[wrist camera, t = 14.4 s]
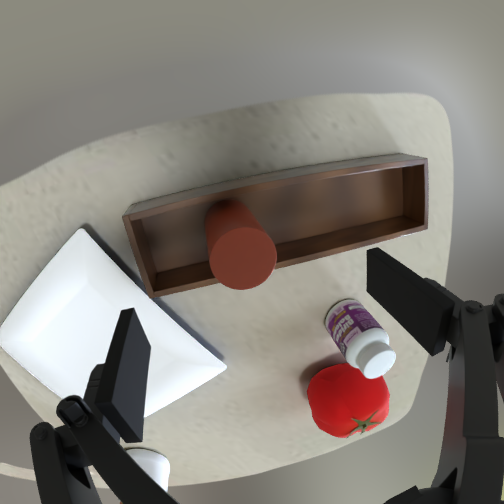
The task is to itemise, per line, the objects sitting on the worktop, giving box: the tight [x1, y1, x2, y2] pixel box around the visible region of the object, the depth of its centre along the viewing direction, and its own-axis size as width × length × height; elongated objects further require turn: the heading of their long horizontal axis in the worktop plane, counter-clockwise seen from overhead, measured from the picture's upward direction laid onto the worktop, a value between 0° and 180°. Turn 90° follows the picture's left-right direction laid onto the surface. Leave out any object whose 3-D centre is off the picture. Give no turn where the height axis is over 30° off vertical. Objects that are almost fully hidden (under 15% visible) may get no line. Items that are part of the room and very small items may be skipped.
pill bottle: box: [325, 300, 396, 379], centre depth 32 cm, size 5×5×10 cm
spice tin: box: [204, 199, 277, 290], centre depth 25 cm, size 5×5×9 cm
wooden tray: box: [122, 154, 428, 299], centre depth 28 cm, size 29×8×4 cm, turn 100°
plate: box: [0, 229, 227, 417], centre depth 31 cm, size 22×22×2 cm
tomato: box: [307, 363, 390, 438], centre depth 36 cm, size 11×13×10 cm
